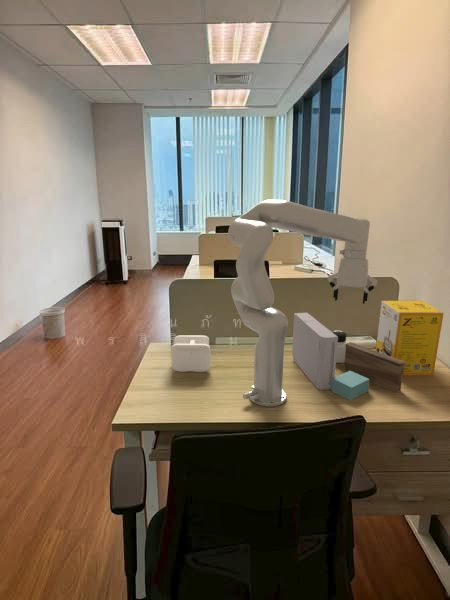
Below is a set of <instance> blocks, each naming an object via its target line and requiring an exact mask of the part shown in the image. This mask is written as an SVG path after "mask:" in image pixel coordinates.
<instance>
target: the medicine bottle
mask: <svg viewBox="0 0 450 600" xmlns="http://www.w3.org/2000/svg"><path fill="white" fill-rule="evenodd" d="M331 332H332V333H334V334H335V335H336V336H338V344H337V355H336V363H338V364H339V363H341V364H342V363H344V362H345V352H346V347H345V345H346V344H347V343H346V341H347V333H346V332H344V331H342V330H333V331H331Z"/></svg>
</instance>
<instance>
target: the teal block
mask: <svg viewBox="0 0 450 600" xmlns="http://www.w3.org/2000/svg"><path fill="white" fill-rule="evenodd" d="M369 385H370V381H369V379H368V378H366V377H364V376H361V375H359V374H357V373H354V372H352V371H348V372H347V371H345V372H344V373H342V374H339V375H337V376H335V377H334V378H332V387H331V389H330V390H331V392H333V393H335V394H337V395H339V396H341V397H343V398H345V399H347V400H350V401H352V400H354V399H355V398H357V397H359V396H362V395H364V394H365V393H367V392H369Z"/></svg>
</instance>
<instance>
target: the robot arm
mask: <svg viewBox="0 0 450 600" xmlns="http://www.w3.org/2000/svg"><path fill="white" fill-rule="evenodd" d="M370 226H371V225H370V221H369V219H366V218H354V217H350V216H348V215H347V216H346V215H343V214H338V213H335V212H330V211H327V210H322V209H317V208H314V207H311V206H307V205H303V204H301V203H296V202H293V201H289V200H285V199H266V200H262V201H261V202H259V203H257V204H256V205H254V206H253V207H251V208H250V209H249V210H247V211H246V212H244V213H243V214H242V215H240V216H238V217H237V218H236V219H235V220H233V222H231V224H230V225H229V227H228V229H227V230H228V232H227V237H228V240H229V241H230V242H231V243H232V245H234V246H236V247H239V248H240V250H239V253H238V255H237V259H236V262H235V268H236V269H235V270H236V274H237V277H235V279H234V280H233V282H232V284H231V287H230V292H231V297H232V300H233V302H234V305H235V308H236V310H237V312H238V313H237V314H238V315H239V317H240V319H241V321H242V323H243V324H244V326H245V327H247V328H249V330H252V331H253V332H256V333H257V334H258V338H257V341H256V342H255V345H254V363H253V364H254V366H253V367H254V368H253V385H251V389H250V390H249V391H248V392H245V393H243V394H242V398H243V399H244V400H247V399H250V401H251V402H253V404H255V405H259V406H262V407H269V408H270V407H277V406H281V405H282V404H284V403H285V402H286V401H287V394H286V393H287V392H286V391H285V390H283V379H284V378H283V376H284V374H283V373H284V357H285V355H284V354H285V353H284V351H285V342H286V337H287V333H288V329H289V320H288V317H287V315H285V314H284V312H282V311H281V310H279V309H277V308H275V307H272V306H273V305H274V302H275V293H274V289H273V286H272V284H271V280H270V278H269V275H268V272H267V270H266V266H265V258H266V255H267V253H268V251H269V249H270V247H271V245H272V243H273V240H274V231H273V228H275V229H279V230H284V231H288V232H292V233H296V234H297V233H298V234H301V235H305V236H311V237H316V238H327V239H330V240H332V241H337V242H343V243H344V247H343V248H344V249H342V250H339V255H342V256H341V258H340V260H339V265H338V269H337V270H338V271H337V272H335V273H333V274H330V275H328V276H327V278H326V279H327V281H328V283H329V286H331V288H332V289H333V296H332V298H334V301H337V300H338V298H339V288H340V287H347V288H348V287H349V288H356V289H357V288H360V289H362V290H364V291H363V295H362V296H363V297H362V304H363V305H364V304H366V303H365V302H368V297H369V293H370V292H371V291H372V290H374V289H375V287H376V286H377V285H378V283H379V282H378V279H376V278H374V277H372V276H370V275H369V260H368V258H367V250H368V241H369V233H370ZM335 278H336V283H335V282H334V281H333V279H335ZM368 281H369V282H371V285H370V286H368Z"/></svg>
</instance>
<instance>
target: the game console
mask: <svg viewBox="0 0 450 600" xmlns="http://www.w3.org/2000/svg"><path fill="white" fill-rule="evenodd" d="M293 314H294V315H293V328H292V329H293V331H292V332H293V334H292V348H291V350H292V351H291V352H292V359H293V361H294V362H295V364H296V365H297V366H298V367H299V369H300V370H301V371H302V373H304V374H305V376H306V377H307V378H308V379H309V380H310V382H311V383H312V384H313V385H314V386H315V388H316V389H317V390H320V391H324V390H331V387H332V378H334V377H336V376H335V374H336V366H337V365H336V355H337V344H338V336H336V335H335V334H334V333H332V332H333V331H331V330H330V329H329V328H327V327H326V326H325V325H324V324H322V323H321V322H319V320H317V319H316V318H315V317H314V316H312V315H311V314H310V313H308V312H296V313H295V312H294V313H293Z"/></svg>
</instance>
